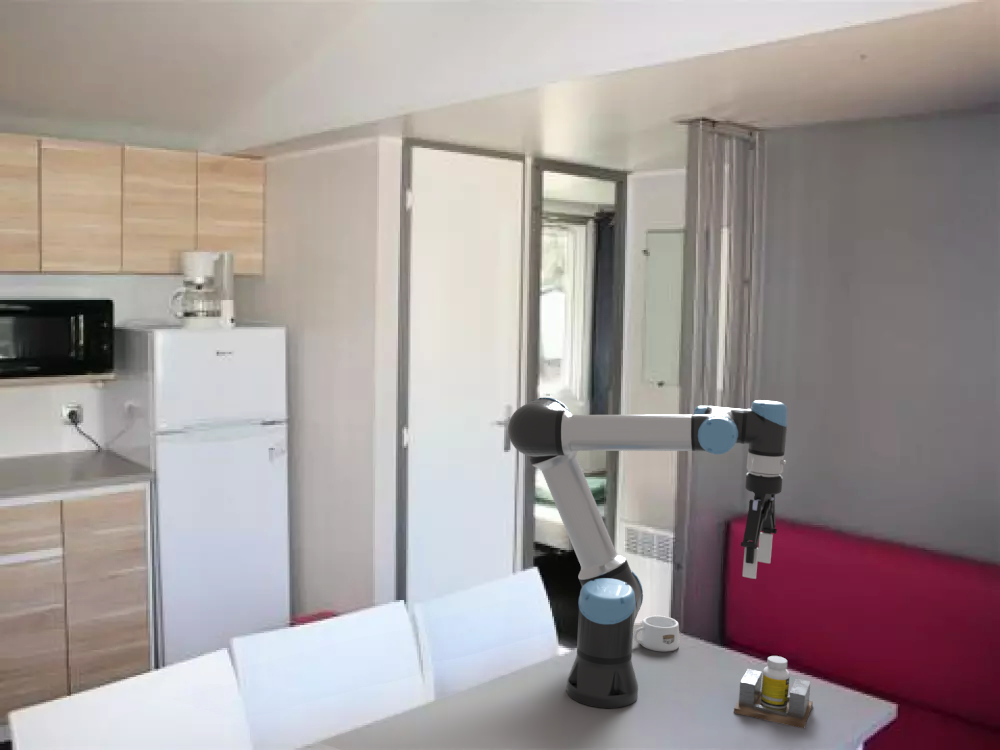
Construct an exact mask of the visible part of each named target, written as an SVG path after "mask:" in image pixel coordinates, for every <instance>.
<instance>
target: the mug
mask: <svg viewBox="0 0 1000 750" xmlns="http://www.w3.org/2000/svg"><path fill="white" fill-rule="evenodd" d="M639 632H640V634H639V639H638V637H637V635H638V633H639ZM633 639H634V641H635V643H636V644H640V645H641V646H642V647H643V648H645V649H647V650H649V651H654V652H661V653H667V652H673V651H676V650H677V649H678V648H679V647H680V642H681V641H680V626H679V621H677V620H676V619H675V618H672V617H669V616H664V615H649V616H645V617H644V618H643V619H642V623H641V627H639V626H638V627H637V628H636V629H635V630H634V631H633Z"/></svg>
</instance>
